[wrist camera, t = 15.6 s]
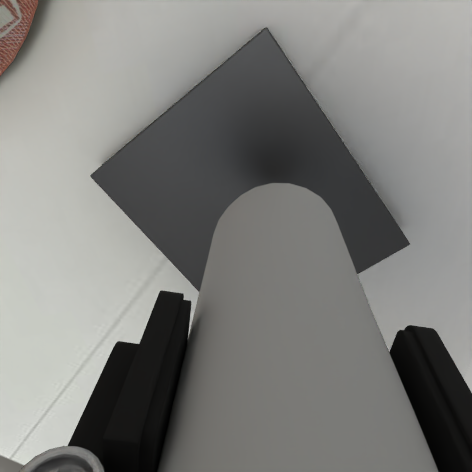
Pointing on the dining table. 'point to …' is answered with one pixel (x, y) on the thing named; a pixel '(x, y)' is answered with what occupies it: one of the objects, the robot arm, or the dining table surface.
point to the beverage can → (287, 353)
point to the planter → (14, 28)
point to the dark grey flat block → (242, 162)
